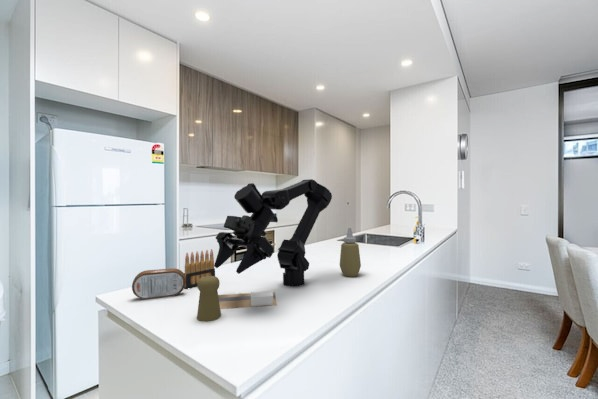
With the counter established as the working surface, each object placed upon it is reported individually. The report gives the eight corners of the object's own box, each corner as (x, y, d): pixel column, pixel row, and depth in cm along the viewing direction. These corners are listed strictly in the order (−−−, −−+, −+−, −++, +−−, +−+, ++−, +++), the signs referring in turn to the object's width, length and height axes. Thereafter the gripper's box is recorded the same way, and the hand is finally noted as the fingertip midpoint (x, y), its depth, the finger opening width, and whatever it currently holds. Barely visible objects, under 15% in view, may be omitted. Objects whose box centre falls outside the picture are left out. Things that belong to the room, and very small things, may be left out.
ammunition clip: (185, 289, 96) (185, 253, 96) (183, 288, 97) (183, 252, 97) (215, 282, 103) (215, 249, 103) (213, 281, 104) (212, 248, 104)
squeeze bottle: (364, 273, 112) (363, 227, 112) (356, 279, 105) (355, 229, 105) (344, 271, 116) (343, 226, 116) (336, 276, 109) (335, 228, 109)
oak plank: (274, 295, 89) (274, 291, 89) (277, 309, 78) (277, 305, 78) (207, 299, 86) (207, 295, 86) (200, 314, 75) (200, 310, 75)
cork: (199, 316, 74) (199, 274, 74) (223, 315, 74) (223, 273, 74) (193, 327, 68) (192, 281, 68) (219, 326, 68) (218, 280, 68)
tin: (186, 292, 93) (185, 266, 93) (186, 295, 90) (185, 268, 90) (133, 298, 88) (132, 271, 87) (131, 302, 85) (130, 273, 85)
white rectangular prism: (272, 299, 82) (272, 291, 82) (273, 304, 78) (273, 296, 78) (251, 300, 81) (251, 292, 81) (250, 306, 77) (250, 297, 77)
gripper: (220, 204, 85) (186, 247, 76) (265, 205, 73) (230, 256, 65) (242, 228, 91) (212, 270, 82) (286, 233, 79) (256, 282, 71)
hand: (226, 269), depth 75 cm, fingers open, 9 cm apart
